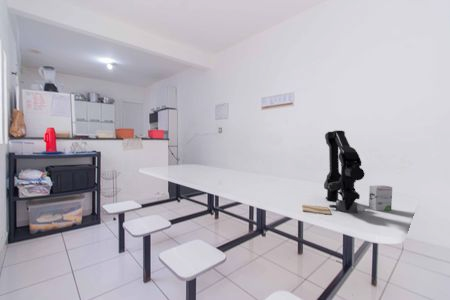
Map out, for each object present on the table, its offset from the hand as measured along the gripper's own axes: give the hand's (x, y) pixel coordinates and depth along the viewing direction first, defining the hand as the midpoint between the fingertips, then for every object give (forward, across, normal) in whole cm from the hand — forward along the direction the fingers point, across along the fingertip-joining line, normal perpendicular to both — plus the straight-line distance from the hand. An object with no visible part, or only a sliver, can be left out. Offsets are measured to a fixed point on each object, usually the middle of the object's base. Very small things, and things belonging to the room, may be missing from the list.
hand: (346, 208), depth 103 cm
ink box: (+1, -10, +17) cm, 20 cm away
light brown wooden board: (+1, +4, -14) cm, 15 cm away
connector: (+1, 0, 0) cm, 1 cm away
